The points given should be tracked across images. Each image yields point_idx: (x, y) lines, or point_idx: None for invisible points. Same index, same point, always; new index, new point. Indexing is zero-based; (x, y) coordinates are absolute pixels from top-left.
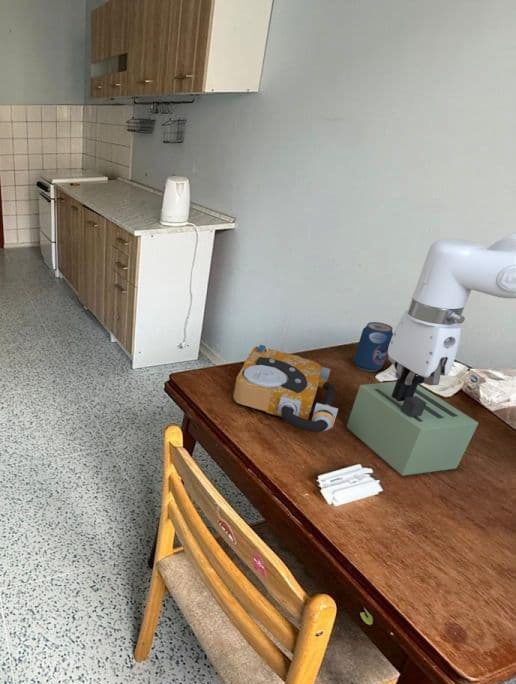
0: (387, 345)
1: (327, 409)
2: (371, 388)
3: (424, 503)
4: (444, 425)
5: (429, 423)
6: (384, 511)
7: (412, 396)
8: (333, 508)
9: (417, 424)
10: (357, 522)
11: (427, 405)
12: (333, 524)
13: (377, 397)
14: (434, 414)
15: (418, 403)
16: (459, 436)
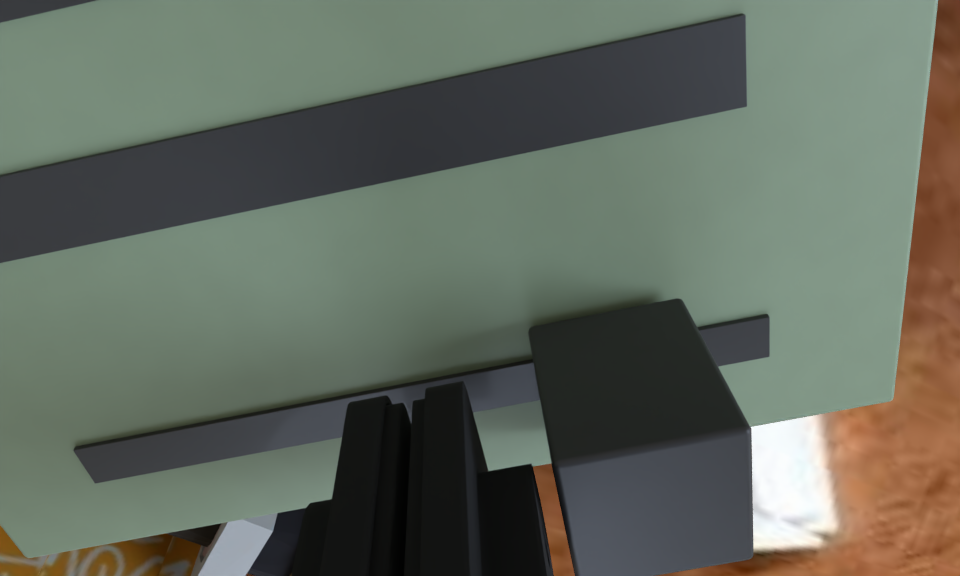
0: None
1: (250, 566)
2: (76, 494)
3: (932, 165)
4: (895, 122)
5: (816, 270)
6: (920, 375)
7: (566, 515)
8: (847, 538)
9: (805, 391)
10: (939, 491)
11: (409, 51)
12: (921, 561)
13: (279, 509)
14: (658, 108)
15: (750, 526)
16: None
